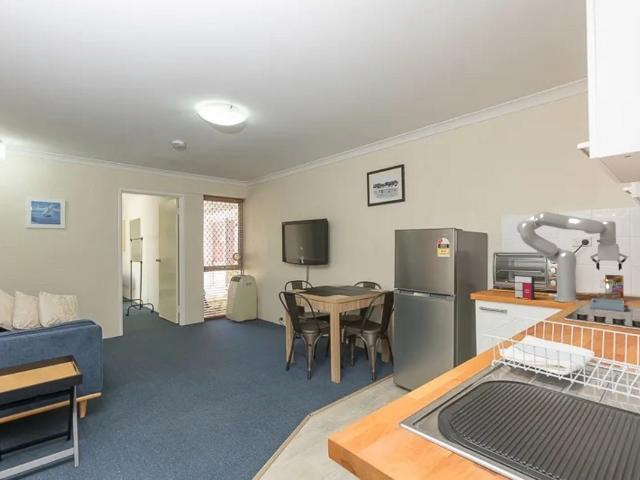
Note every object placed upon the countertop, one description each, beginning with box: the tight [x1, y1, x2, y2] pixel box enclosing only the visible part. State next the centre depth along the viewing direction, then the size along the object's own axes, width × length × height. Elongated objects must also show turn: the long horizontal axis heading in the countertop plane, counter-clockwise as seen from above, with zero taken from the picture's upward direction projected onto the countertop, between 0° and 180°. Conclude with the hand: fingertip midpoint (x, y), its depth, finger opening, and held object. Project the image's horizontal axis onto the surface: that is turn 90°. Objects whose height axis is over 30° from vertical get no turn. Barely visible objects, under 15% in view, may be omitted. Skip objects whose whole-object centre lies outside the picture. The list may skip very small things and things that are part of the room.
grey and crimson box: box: [513, 274, 536, 300], centre depth 226 cm, size 11×4×15 cm, turn 37°
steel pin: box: [603, 278, 613, 295], centre depth 208 cm, size 5×5×13 cm
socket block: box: [597, 292, 621, 300], centre depth 208 cm, size 10×10×5 cm
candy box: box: [604, 274, 625, 299], centre depth 224 cm, size 9×4×15 cm, turn 56°
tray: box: [589, 298, 625, 313], centre depth 193 cm, size 14×18×4 cm
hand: (608, 270), depth 208 cm, fingers open, 9 cm apart
